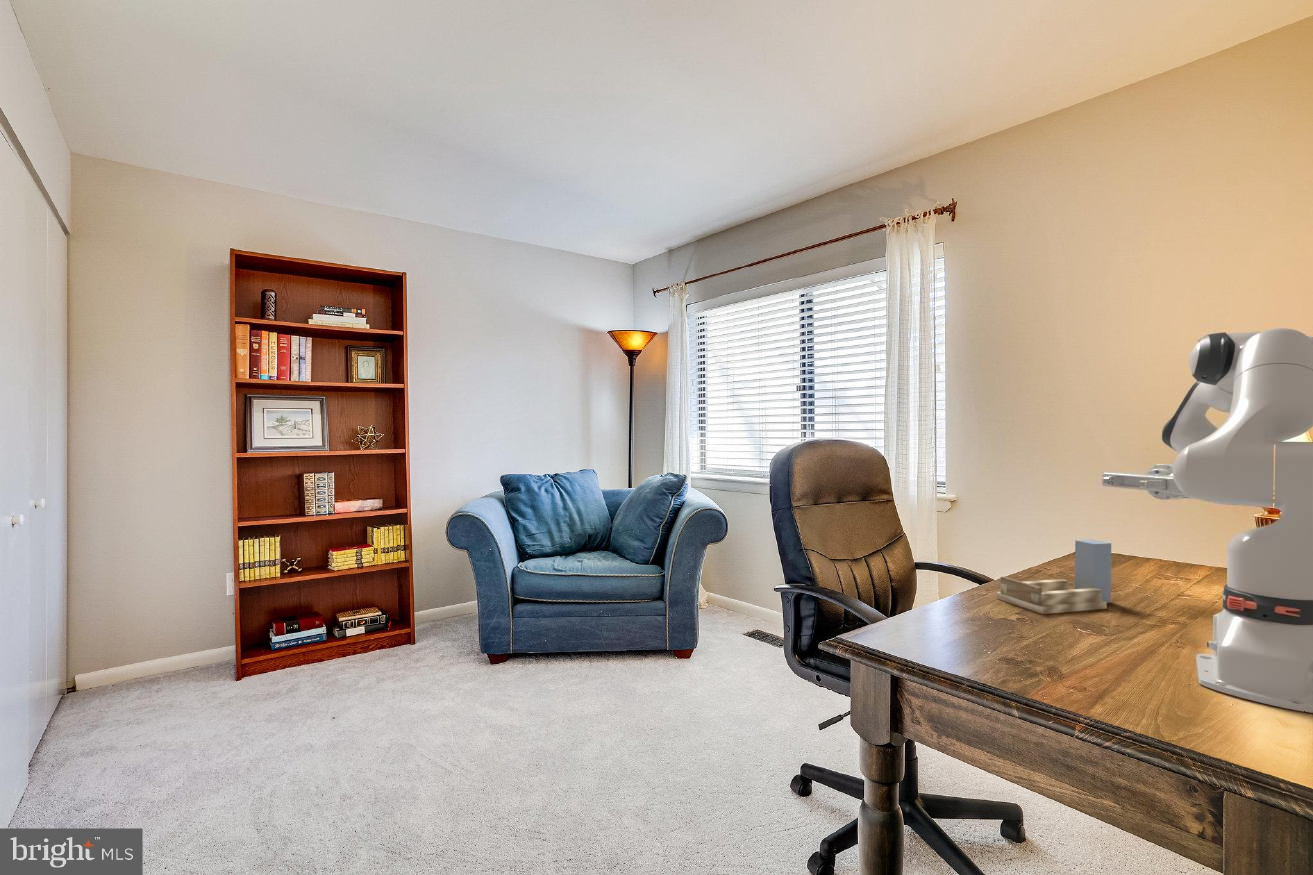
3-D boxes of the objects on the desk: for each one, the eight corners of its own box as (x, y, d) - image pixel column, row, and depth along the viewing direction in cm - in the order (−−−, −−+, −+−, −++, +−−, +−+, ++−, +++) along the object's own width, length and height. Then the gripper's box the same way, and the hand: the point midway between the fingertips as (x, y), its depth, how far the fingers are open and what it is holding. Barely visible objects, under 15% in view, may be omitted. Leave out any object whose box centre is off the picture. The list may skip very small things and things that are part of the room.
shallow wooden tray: (1042, 614, 137) (1042, 589, 137) (996, 598, 150) (996, 575, 149) (1106, 608, 141) (1106, 584, 141) (1056, 593, 154) (1057, 571, 154)
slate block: (1093, 603, 146) (1094, 544, 145) (1074, 598, 150) (1075, 540, 150) (1110, 602, 147) (1111, 543, 147) (1090, 596, 152) (1091, 539, 151)
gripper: (1125, 466, 164) (1084, 467, 161) (1212, 471, 144) (1167, 472, 141) (1125, 490, 164) (1084, 491, 161) (1211, 498, 144) (1166, 500, 141)
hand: (1123, 482), depth 151 cm, fingers open, 8 cm apart
